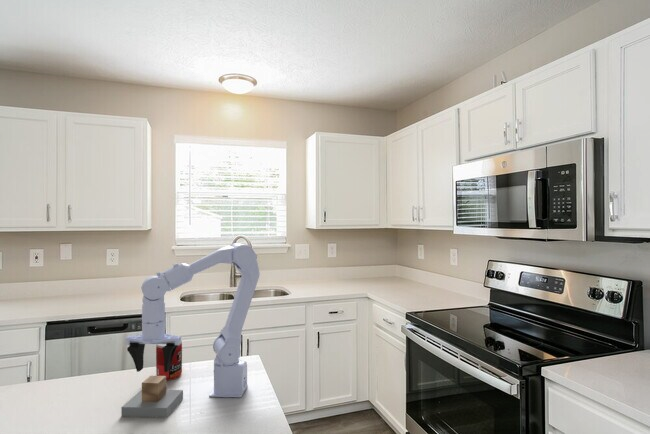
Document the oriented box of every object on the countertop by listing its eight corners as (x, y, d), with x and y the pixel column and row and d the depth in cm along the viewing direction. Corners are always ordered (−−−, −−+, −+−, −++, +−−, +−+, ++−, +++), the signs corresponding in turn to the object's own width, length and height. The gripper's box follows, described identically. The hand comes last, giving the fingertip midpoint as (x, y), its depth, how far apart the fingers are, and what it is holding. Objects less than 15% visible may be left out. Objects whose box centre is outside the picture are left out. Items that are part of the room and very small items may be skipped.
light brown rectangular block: (166, 393, 104) (166, 376, 104) (158, 401, 99) (158, 383, 99) (150, 393, 104) (150, 375, 104) (141, 401, 99) (141, 382, 99)
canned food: (173, 381, 117) (173, 347, 117) (150, 379, 118) (150, 345, 118) (186, 372, 124) (186, 339, 124) (165, 370, 126) (165, 337, 126)
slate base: (183, 398, 106) (183, 389, 106) (166, 417, 96) (166, 407, 96) (141, 397, 106) (141, 389, 106) (121, 416, 96) (121, 407, 96)
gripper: (119, 324, 98) (119, 376, 98) (173, 325, 97) (173, 376, 97) (133, 317, 105) (133, 365, 105) (184, 317, 104) (184, 366, 104)
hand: (153, 370), depth 102 cm, fingers open, 7 cm apart
